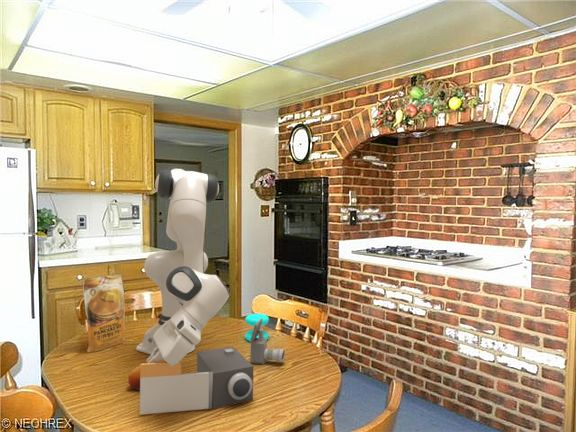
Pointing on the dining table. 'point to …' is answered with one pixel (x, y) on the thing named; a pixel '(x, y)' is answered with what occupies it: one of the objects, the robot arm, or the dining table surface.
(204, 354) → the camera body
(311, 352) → the dining table surface
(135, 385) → the fruit
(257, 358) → the camera
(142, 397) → the side door
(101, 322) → the pancake mix bag
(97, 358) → the dining table surface
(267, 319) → the turquoise spool
